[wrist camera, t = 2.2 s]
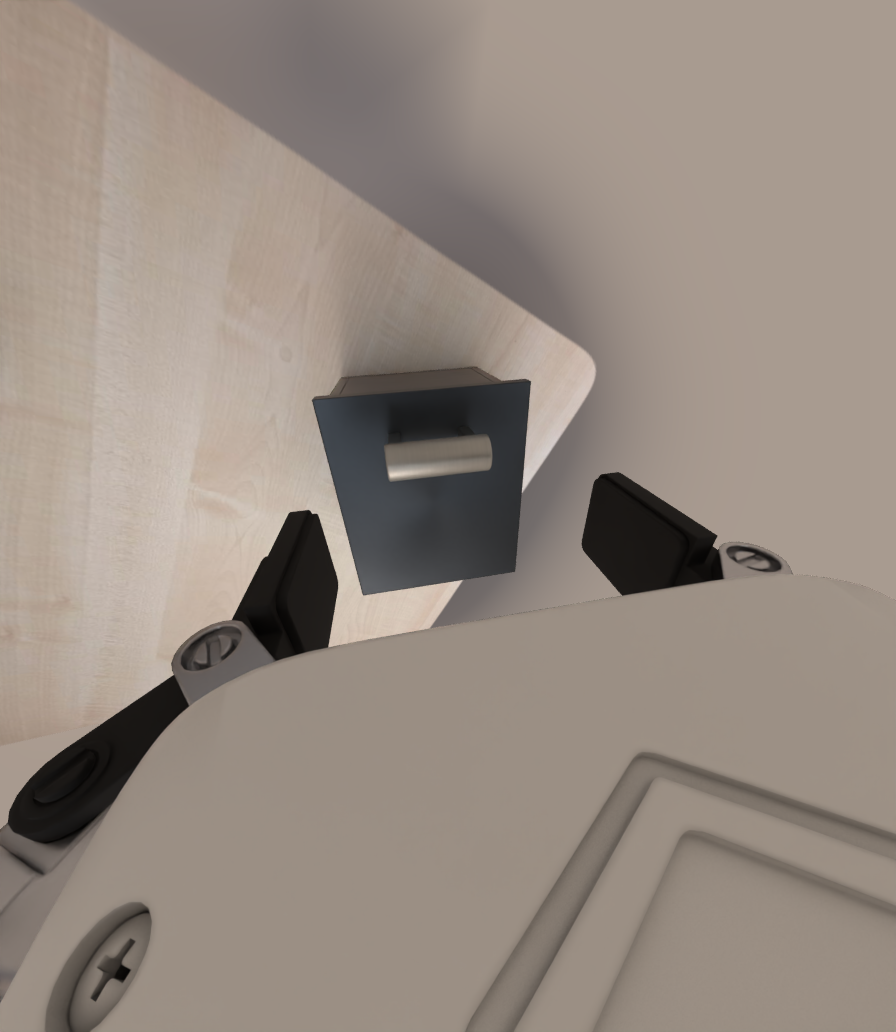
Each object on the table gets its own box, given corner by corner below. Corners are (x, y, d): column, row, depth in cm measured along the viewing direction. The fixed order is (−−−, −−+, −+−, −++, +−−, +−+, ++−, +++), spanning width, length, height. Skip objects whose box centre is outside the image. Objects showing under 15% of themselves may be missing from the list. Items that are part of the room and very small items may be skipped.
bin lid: (314, 396, 18) (291, 423, 13) (526, 378, 19) (569, 398, 15) (363, 588, 25) (359, 645, 21) (512, 565, 26) (537, 615, 22)
